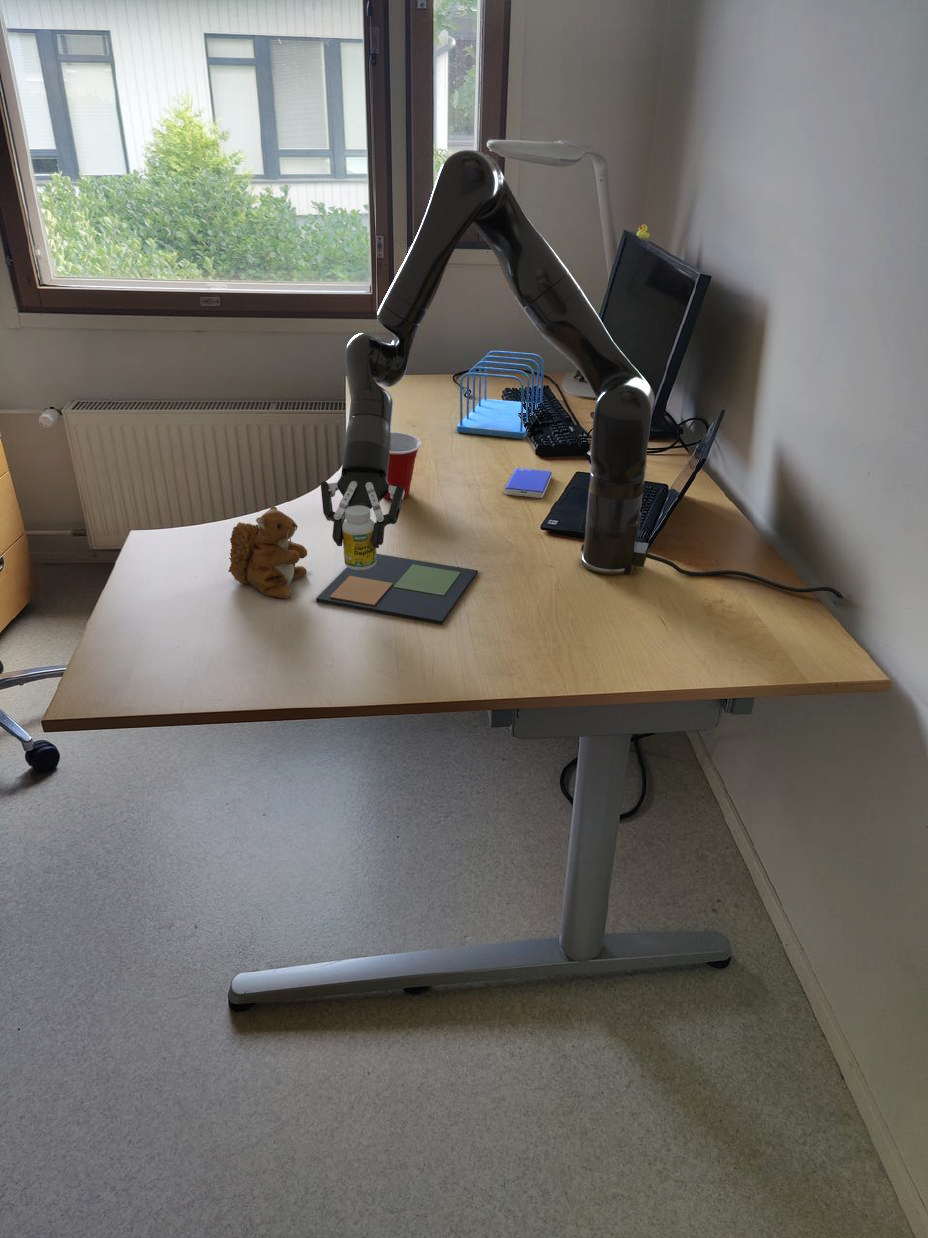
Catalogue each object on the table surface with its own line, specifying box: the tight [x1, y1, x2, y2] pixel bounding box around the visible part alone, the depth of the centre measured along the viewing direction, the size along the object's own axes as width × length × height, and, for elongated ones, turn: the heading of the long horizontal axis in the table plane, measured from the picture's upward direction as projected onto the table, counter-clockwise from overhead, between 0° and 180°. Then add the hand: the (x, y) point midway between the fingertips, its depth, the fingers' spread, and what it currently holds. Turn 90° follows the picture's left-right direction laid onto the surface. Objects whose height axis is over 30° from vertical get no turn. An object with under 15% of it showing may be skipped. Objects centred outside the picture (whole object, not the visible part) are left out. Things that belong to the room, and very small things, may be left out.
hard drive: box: [504, 467, 553, 499], centre depth 192 cm, size 2×8×12 cm
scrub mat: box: [315, 553, 479, 625], centre depth 151 cm, size 22×19×1 cm
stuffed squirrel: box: [227, 505, 308, 599], centre depth 149 cm, size 10×14×13 cm
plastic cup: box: [383, 431, 422, 500], centre depth 184 cm, size 11×11×12 cm
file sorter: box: [456, 350, 545, 440], centre depth 228 cm, size 25×17×15 cm
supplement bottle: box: [342, 505, 378, 570], centre depth 144 cm, size 5×5×10 cm
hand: (357, 545), depth 143 cm, fingers closed on supplement bottle, 5 cm apart
